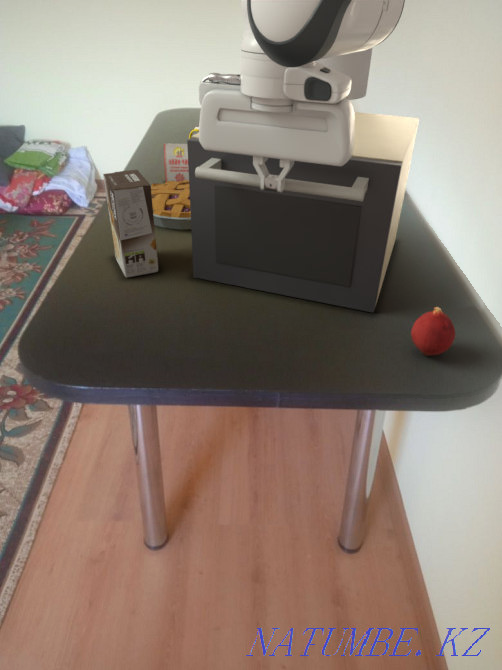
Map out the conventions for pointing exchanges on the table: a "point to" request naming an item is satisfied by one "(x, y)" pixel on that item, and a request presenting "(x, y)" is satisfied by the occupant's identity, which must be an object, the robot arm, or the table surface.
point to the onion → (433, 332)
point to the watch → (193, 131)
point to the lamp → (352, 70)
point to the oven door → (292, 226)
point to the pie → (171, 205)
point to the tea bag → (176, 162)
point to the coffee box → (132, 222)
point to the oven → (385, 156)
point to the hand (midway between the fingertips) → (272, 189)
